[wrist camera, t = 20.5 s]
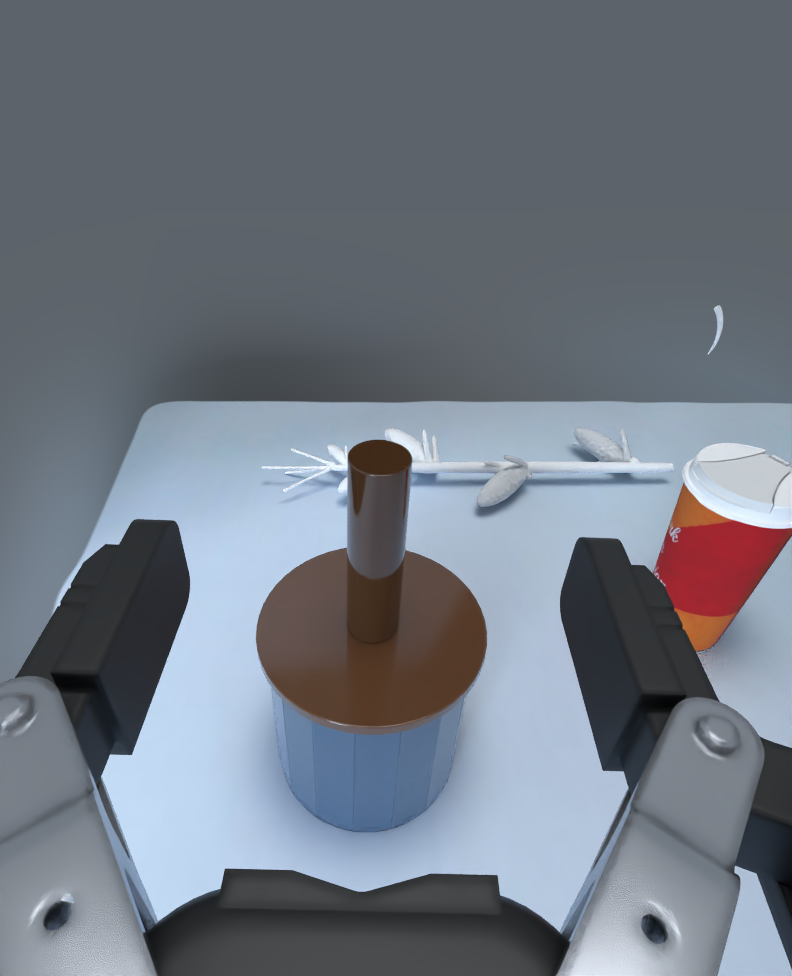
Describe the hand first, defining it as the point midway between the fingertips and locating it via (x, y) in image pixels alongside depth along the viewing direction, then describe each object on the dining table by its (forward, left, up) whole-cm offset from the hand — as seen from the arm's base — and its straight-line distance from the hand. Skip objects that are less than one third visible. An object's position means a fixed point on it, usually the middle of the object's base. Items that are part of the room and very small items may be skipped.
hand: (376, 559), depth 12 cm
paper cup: (-32, +4, -26) cm, 41 cm away
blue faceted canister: (-9, -7, -26) cm, 28 cm away
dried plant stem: (-36, -18, -26) cm, 48 cm away
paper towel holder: (-8, -7, -16) cm, 19 cm away
